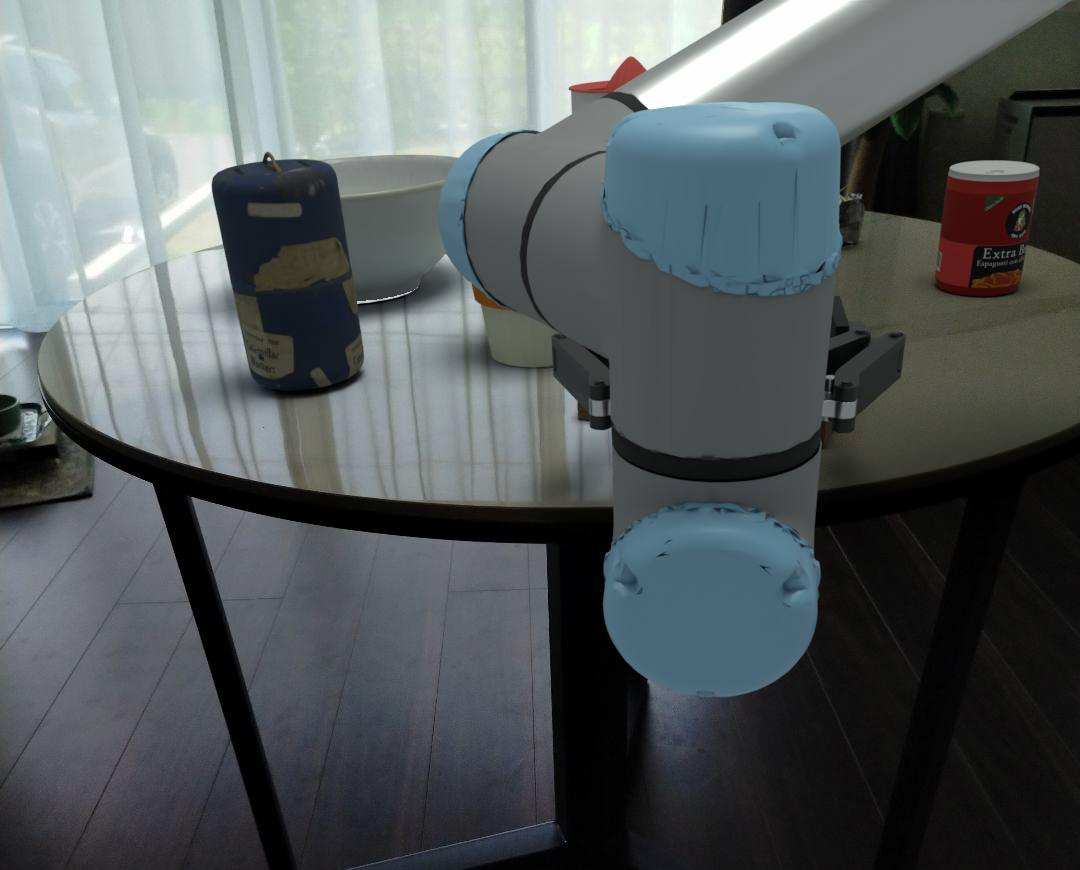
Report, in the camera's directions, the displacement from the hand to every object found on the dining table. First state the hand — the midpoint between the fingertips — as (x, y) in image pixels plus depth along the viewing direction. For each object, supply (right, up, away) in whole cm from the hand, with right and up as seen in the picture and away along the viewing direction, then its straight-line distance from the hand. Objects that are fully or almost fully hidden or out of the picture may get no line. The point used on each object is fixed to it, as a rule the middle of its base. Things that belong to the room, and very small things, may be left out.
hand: (724, 317), depth 65 cm
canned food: (+30, +10, +31) cm, 45 cm away
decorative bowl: (-31, +13, +44) cm, 55 cm away
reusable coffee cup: (-12, +2, +22) cm, 25 cm away
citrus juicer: (+1, +28, +68) cm, 73 cm away
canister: (-31, -1, +19) cm, 37 cm away
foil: (+18, +18, +48) cm, 55 cm away
